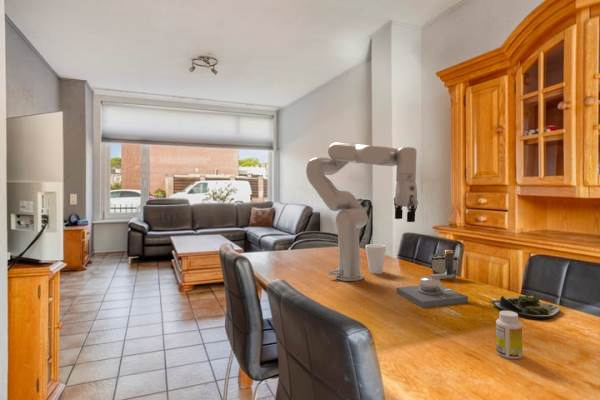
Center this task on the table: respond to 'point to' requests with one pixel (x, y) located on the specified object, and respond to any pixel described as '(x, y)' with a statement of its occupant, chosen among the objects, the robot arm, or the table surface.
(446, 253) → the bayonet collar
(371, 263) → the foam cup
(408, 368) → the table surface
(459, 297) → the post base
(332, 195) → the robot arm
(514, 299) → the salad plate
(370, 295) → the table surface
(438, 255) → the food container
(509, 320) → the supplement bottle
